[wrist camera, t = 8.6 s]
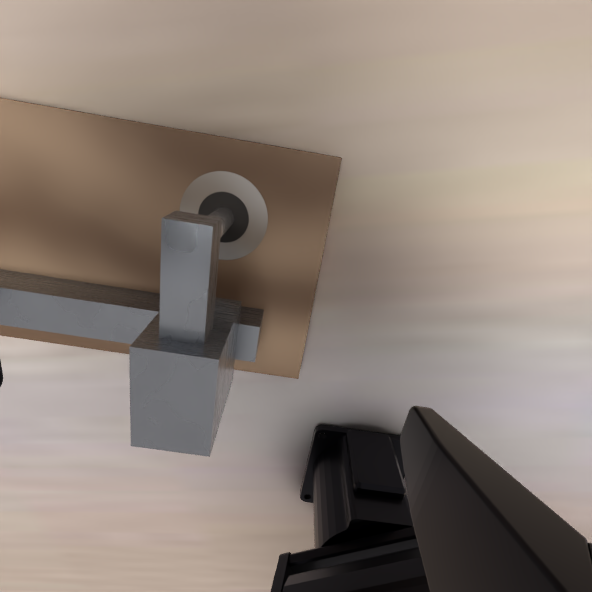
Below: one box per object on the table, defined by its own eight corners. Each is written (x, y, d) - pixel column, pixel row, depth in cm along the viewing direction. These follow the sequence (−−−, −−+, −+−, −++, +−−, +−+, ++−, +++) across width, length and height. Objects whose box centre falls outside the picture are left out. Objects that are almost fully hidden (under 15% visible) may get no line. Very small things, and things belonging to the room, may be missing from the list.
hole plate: (298, 368, 22) (298, 380, 21) (-137, 304, 21) (-161, 313, 20) (339, 157, 17) (342, 158, 16) (-216, 59, 16) (-253, 54, 15)
